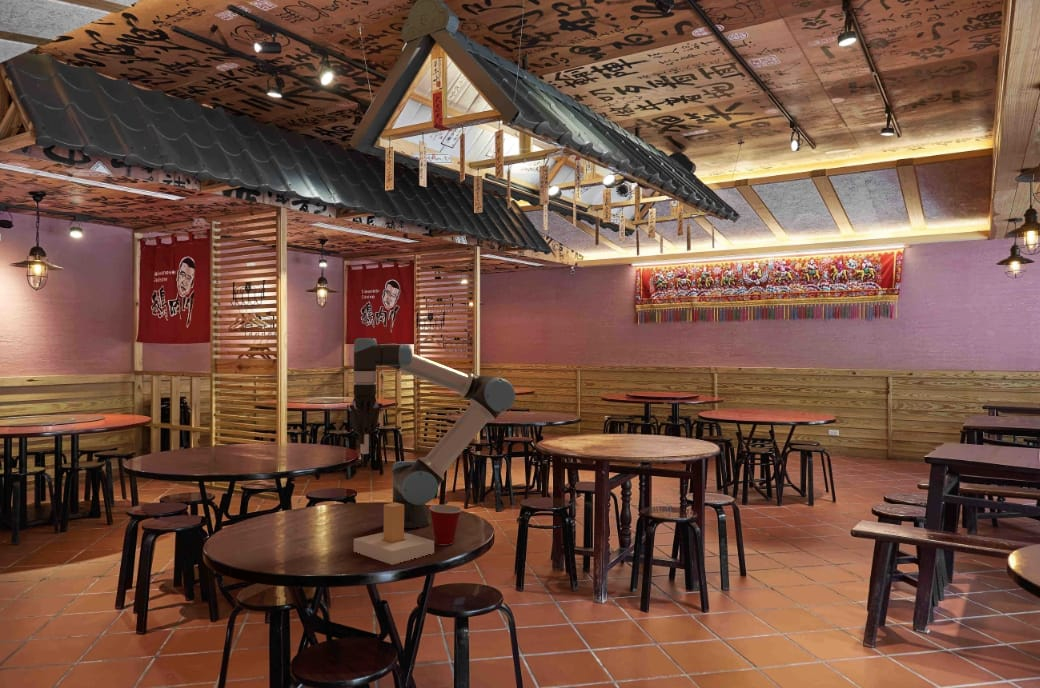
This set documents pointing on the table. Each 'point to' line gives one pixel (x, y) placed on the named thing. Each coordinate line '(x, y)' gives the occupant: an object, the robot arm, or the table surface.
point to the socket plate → (393, 548)
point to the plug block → (393, 522)
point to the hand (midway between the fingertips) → (364, 453)
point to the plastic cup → (445, 522)
